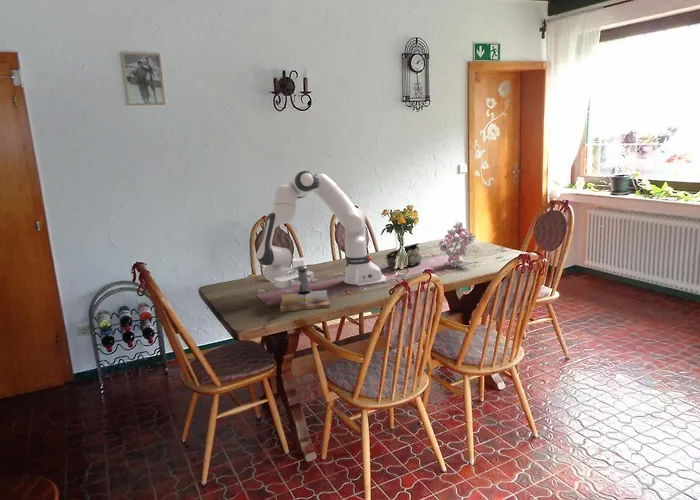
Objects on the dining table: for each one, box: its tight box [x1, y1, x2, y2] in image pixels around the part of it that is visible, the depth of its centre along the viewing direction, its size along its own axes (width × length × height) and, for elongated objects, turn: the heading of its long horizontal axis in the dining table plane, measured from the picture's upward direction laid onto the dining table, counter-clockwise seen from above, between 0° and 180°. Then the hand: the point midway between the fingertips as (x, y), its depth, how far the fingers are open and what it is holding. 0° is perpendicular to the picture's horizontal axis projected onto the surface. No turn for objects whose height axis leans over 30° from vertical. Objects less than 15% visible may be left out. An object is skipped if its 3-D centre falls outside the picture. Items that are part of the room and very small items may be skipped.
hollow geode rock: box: [383, 242, 423, 270], centre depth 311 cm, size 28×13×15 cm
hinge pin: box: [297, 265, 309, 295], centre depth 249 cm, size 5×5×16 cm
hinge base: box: [280, 296, 331, 313], centre depth 252 cm, size 23×11×2 cm, turn 98°
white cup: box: [292, 257, 307, 268], centre depth 302 cm, size 8×8×10 cm
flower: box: [436, 219, 476, 268], centre depth 308 cm, size 20×22×25 cm
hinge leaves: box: [281, 289, 328, 305], centre depth 251 cm, size 21×8×5 cm, turn 98°
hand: (304, 282), depth 248 cm, fingers closed on hinge pin, 4 cm apart
